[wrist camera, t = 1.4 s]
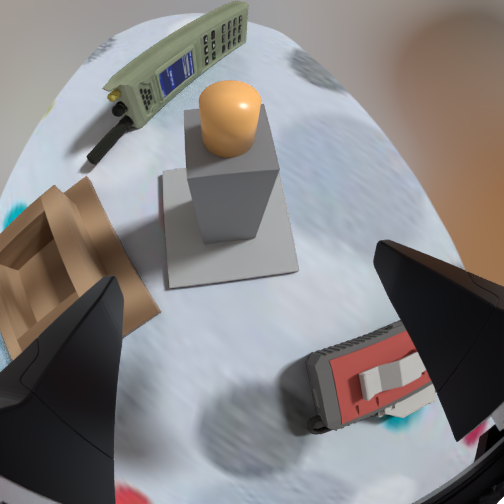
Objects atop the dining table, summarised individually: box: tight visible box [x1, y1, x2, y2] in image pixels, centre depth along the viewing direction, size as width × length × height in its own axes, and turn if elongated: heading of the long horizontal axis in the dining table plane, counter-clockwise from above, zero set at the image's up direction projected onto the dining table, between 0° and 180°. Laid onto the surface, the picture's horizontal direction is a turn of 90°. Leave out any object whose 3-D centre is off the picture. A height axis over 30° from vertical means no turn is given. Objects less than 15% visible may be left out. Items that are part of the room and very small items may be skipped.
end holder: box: [0, 176, 161, 360], centre depth 18 cm, size 14×14×5 cm
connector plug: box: [184, 80, 280, 244], centre depth 16 cm, size 4×4×13 cm
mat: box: [163, 168, 299, 288], centre depth 22 cm, size 10×10×1 cm
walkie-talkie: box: [306, 321, 436, 434], centre depth 19 cm, size 9×4×20 cm
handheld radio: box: [87, 1, 248, 165], centre depth 23 cm, size 7×3×25 cm
